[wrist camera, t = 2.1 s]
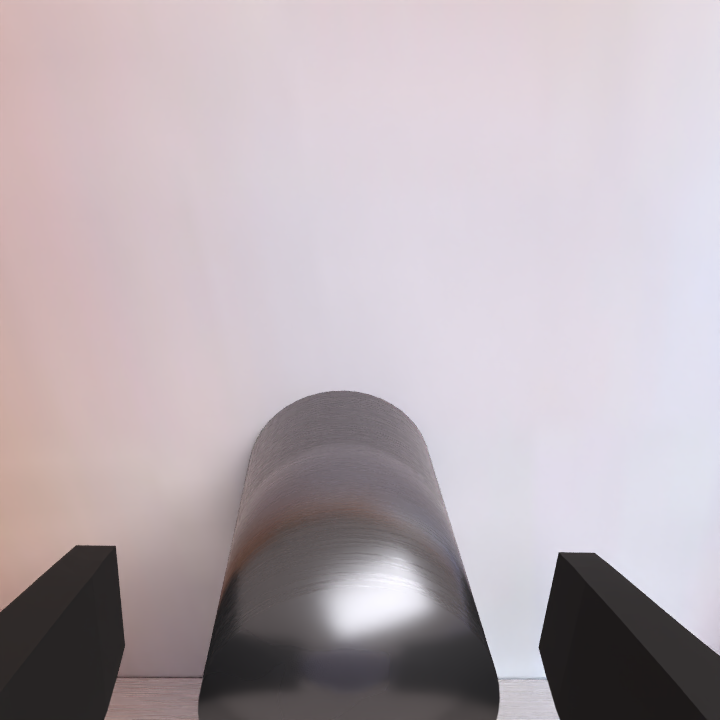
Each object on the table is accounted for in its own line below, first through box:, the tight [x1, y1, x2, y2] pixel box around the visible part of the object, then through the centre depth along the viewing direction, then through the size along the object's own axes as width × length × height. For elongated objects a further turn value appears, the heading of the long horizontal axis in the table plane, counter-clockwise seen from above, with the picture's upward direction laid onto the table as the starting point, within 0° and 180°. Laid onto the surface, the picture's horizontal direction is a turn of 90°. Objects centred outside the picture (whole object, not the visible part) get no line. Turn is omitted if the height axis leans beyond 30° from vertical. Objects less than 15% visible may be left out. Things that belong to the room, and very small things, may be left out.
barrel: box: [198, 391, 500, 720], centre depth 11 cm, size 4×4×6 cm
